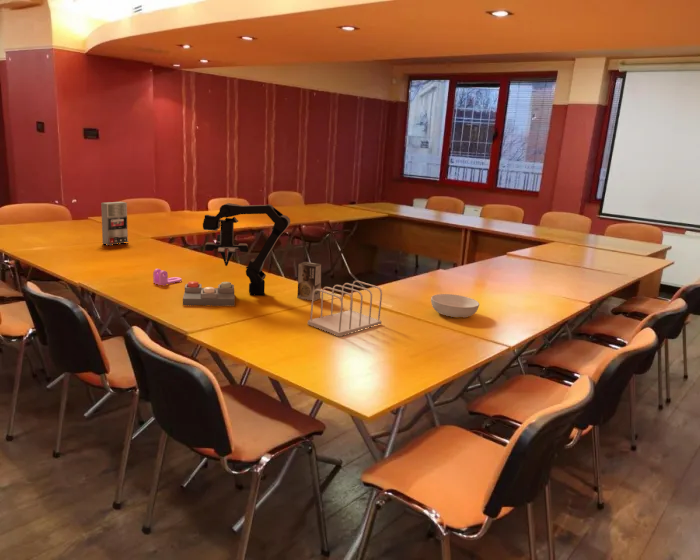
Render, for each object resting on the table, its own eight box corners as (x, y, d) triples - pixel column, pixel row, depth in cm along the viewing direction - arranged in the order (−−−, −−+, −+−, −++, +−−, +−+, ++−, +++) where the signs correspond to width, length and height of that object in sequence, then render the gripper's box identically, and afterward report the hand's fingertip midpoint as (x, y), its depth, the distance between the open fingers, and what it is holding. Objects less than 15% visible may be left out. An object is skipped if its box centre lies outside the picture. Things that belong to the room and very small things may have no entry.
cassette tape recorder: (108, 246, 333) (107, 204, 327) (102, 244, 336) (100, 202, 330) (128, 243, 344) (127, 202, 338) (122, 242, 347) (121, 201, 341)
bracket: (160, 286, 259) (160, 271, 257) (153, 283, 262) (153, 269, 260) (183, 281, 269) (183, 267, 267) (176, 279, 272) (176, 265, 270)
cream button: (214, 293, 240) (214, 287, 240) (214, 296, 236) (214, 289, 235) (204, 293, 239) (204, 286, 239) (203, 296, 235) (203, 289, 234)
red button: (198, 287, 247) (198, 281, 247) (198, 290, 243) (198, 284, 242) (188, 287, 246) (188, 281, 246) (187, 290, 242) (187, 283, 241)
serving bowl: (473, 325, 235) (475, 310, 233) (424, 317, 242) (426, 301, 240) (480, 312, 254) (482, 298, 252) (434, 305, 261) (436, 291, 259)
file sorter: (338, 337, 209) (341, 297, 205) (307, 325, 220) (309, 287, 216) (381, 325, 227) (385, 287, 223) (350, 314, 238) (352, 278, 235)
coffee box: (320, 298, 258) (322, 264, 254) (314, 301, 252) (316, 266, 248) (303, 294, 262) (305, 261, 258) (296, 297, 256) (298, 263, 252)
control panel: (233, 294, 253) (234, 284, 252) (234, 305, 237) (234, 294, 236) (185, 294, 249) (185, 283, 247) (182, 305, 232) (182, 294, 231)
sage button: (231, 288, 250) (231, 281, 250) (231, 291, 246) (231, 284, 245) (221, 288, 249) (221, 281, 249) (220, 291, 245) (221, 284, 245)
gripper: (247, 229, 261) (246, 262, 265) (206, 228, 257) (205, 261, 261) (248, 233, 251) (247, 267, 254) (205, 232, 246) (204, 266, 250)
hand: (226, 265), depth 255 cm, fingers closed
